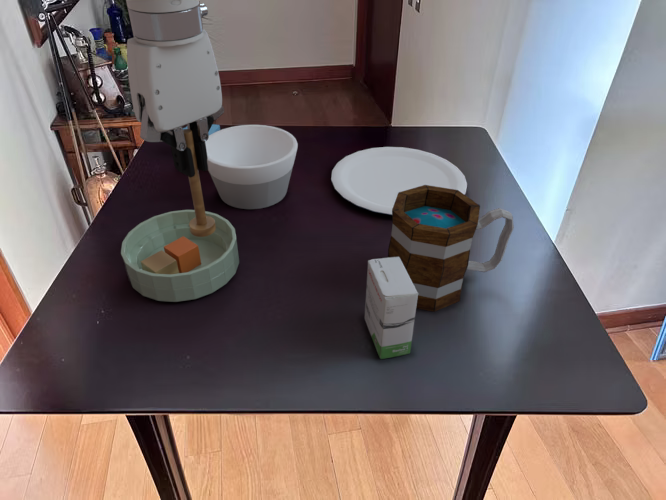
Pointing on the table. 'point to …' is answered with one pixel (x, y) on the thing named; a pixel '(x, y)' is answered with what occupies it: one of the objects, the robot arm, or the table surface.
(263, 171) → the bowl
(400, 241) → the mug
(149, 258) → the maple block
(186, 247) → the orange block
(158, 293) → the stir bowl
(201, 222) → the stirrer
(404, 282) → the ink box
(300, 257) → the table surface
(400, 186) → the plate
